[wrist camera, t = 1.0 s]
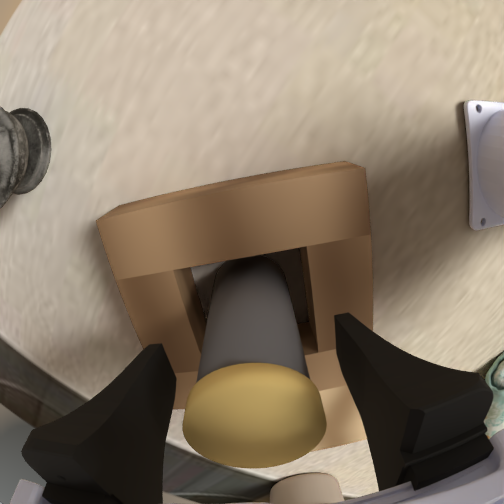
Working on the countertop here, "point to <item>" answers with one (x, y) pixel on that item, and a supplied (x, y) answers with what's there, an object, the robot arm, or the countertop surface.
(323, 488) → the coffee cup
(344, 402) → the coaster
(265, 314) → the plug
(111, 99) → the countertop surface
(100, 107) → the countertop surface
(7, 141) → the salt shaker
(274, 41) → the countertop surface
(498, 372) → the towel
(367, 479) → the countertop surface
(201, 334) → the wooden square frame
